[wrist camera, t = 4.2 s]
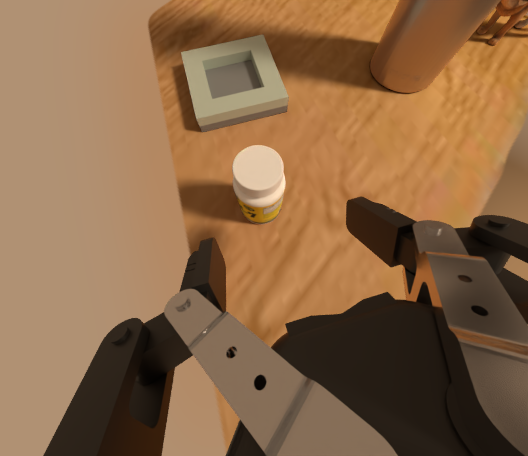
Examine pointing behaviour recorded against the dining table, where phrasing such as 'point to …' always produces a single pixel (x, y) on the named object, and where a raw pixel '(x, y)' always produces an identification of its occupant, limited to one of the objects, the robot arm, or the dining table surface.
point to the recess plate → (234, 83)
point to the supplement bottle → (259, 183)
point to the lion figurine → (512, 4)
